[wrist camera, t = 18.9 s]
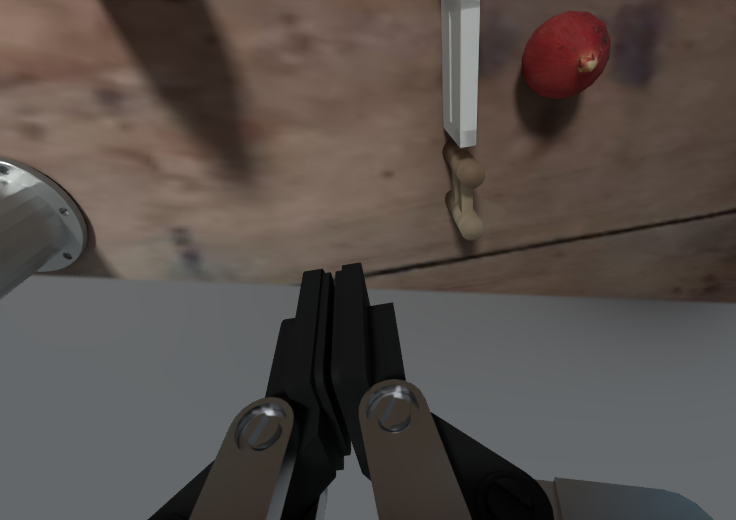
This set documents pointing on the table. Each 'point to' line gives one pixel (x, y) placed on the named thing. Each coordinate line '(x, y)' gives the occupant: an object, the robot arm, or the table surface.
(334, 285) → the robot arm
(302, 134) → the table surface
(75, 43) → the table surface
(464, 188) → the fence
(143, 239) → the table surface
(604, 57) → the onion
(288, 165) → the table surface
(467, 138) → the gate
